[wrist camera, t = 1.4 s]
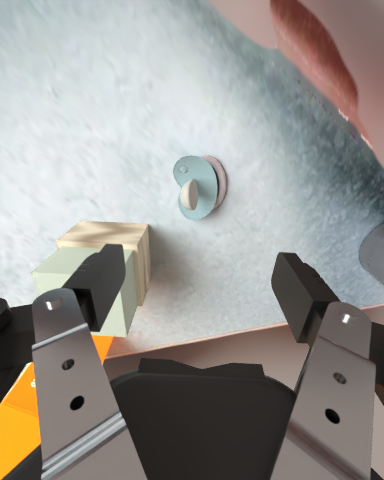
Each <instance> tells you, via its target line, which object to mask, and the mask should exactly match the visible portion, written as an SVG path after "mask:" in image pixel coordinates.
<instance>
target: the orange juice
mask: <svg viewBox="0 0 384 480" xmlns="http://www.w3.org/2000/svg"><path fill="white" fill-rule="evenodd" d="M113 337H114V336H98V335H92V338H93V340H94V343H95V346H96V348H97V351H98V354H99V356H100V359H101V362H102V364H103V362H104V359H105V357H106V354H107V352H108V349H109V347H110V344H111V342H112V339H113ZM40 443H41V440H40V429H39V419H38V408H37V398H36V387H35V376H34V366H33V362H31V363H29V364H28V365H27V367H26V368H25V370H24V371H23V372H22V374H21V375H20V377H19V378H18V380H17V381H16V383H15V384H14V386H13V387H12V388H11V390H10V391H9V392H8V394H7V395H6V396H5V398H4V399H3V401H2V402H1V404H0V480H1V479H2V478H3V477H4V476H5V475H6V474H7V473H9V472H10V471H11V470H12V469H13V468H14V467H15V466H16V465H17V464H18V463H20V462H21V461H22V460H23V459H24V458H25V457H26V456H27V455H28V454H29V453H30V452H32V451H33V450H34V449H35V448H36V447H37V446H38V445H39V444H40Z"/></svg>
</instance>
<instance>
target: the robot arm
mask: <svg viewBox="0 0 384 480" xmlns="http://www.w3.org/2000/svg"><path fill="white" fill-rule="evenodd" d="M359 259H360V263H361V264H362V266H363V267H364V268H365V269H366V270H367V271H368V272H369V273H370V274H371V275H373V276H374V277H375V278H376V279H377V280H378V281H380V282H381V283H382V284H383V285H384V223H383V224H381V225H379V226H378V227H377V228H375V229H374V230H373V231H372V232H371V233H370V234H369V235H368V236H367V238H366V239H365V240H364V242H363V244H362V246H361V249H360V254H359ZM125 275H126V268H125V259H124V251H123V246H122V244H108V243H107V244H105V245H104V247H103V248H102V249H101V251H100V252H99V253H97V252H95V253H93V254H92V255H90V256H88V257H87V258H86V259H85V260H84V261H83V262H82V263H81V265H80V266H79V267H78V268H77V270H76V271H75V272H74V273H73V274H72V275H71V276H70V278H69V279H68V280H67V281H66V282H65V283H64V285H63V286H62V287H61V288H57V289H53V290H50V291H47V292H45V293H43V294H41V295H40V296H39V297H37V298H36V299H35V300H34V302H33V304H30V305H24V306H18V307H12V308H9V306H8V303H7V301H6V300H5V299H2V298H0V403H1V402H2V400H3V399H4V397H5V396H6V394H7V393H8V391H9V389H10V388H11V387H12V385H13V383H14V382H15V381H16V379H17V377H18V376H19V374H20V373H21V371H22V370H23V368H24V367H25V365H26V364H27V363H31V362H33V366H34V376H35V387H36V398H37V408H38V419H39V429H40V440H41V443H40V444H39V445H38V446H37V447H36V448H35V449H34V450H33V451H32V452H30V453H29V454H28V455H27V456H26V457H25V458H24V459H23V460H22V461H21V462H20V463H18V464H17V465H16V466H15V467H14V468H13V469H12V470H11V471H10V472H9V473H7V474H6V475H5V476H4V477H3V478H2V479H1V480H383V479H382V478H381V477H380V476H379V475H378V474H377V473H376V472H375V471H374V470H373V469H372V468H371V451H372V432H373V413H374V412H373V411H374V393H375V392H376V394H377V396H378V397H379V399H380V401H381V402H382V404H383V405H384V325H381V324H378V323H374V322H371V320H370V319H369V317H368V316H367V315H366V314H365V313H364V312H363V311H362V310H360V309H359V308H357V307H355V306H353V305H351V304H348V303H344V302H341V301H340V300H339V299H338V297H337V296H336V295H335V294H334V292H333V291H332V290H331V289H330V288H329V286H328V285H327V284H326V283H325V281H324V280H323V279H322V278H320V275H319V274H318V273H317V272H316V270H315V269H314V268H312V267H311V266H309V265H308V264H306V263H303V262H302V261H301V259H300V258H299V257H298V256H297V254H296V253H285V252H280V253H278V255H277V258H276V262H275V266H274V270H273V274H272V279H271V284H272V289H273V291H274V293H275V296H276V298H277V300H278V302H279V304H280V307H281V309H282V311H283V313H284V315H285V318H286V320H287V322H288V324H289V326H290V328H291V331H292V333H293V335H294V337H295V339H296V341H297V343H308V344H309V346H310V348H309V351H308V353H307V356H306V359H305V361H304V364H303V367H302V370H301V372H300V375H299V378H298V381H297V383H296V386H295V388H294V391H293V390H291V389H290V388H289V387H287V386H286V385H284V384H282V383H281V382H279V381H277V380H276V379H273V378H271V377H269V376H266V375H264V372H263V367H262V365H261V364H244V363H229V364H225V365H220V366H215V367H210V368H206V369H199V368H195V367H192V366H189V365H186V364H182V363H179V362H176V361H173V360H164V359H145V358H142V359H141V361H140V365H139V369H135V370H131V371H128V372H125V373H123V374H121V375H119V376H117V377H116V378H114V379H112V380H111V381H110V382H109V380H108V378H107V375H106V373H105V370H104V367H103V364H102V362H101V359H100V356H99V354H98V351H97V348H96V346H95V343H94V340H93V338H92V335H91V332H100V331H101V328H102V326H103V324H104V322H105V320H106V318H107V316H108V314H109V312H110V310H111V308H112V305H113V303H114V301H115V299H116V297H117V295H118V293H119V291H120V289H121V287H122V285H123V282H124V280H125Z"/></svg>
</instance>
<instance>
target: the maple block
mask: <svg viewBox="0 0 384 480" xmlns="http://www.w3.org/2000/svg"><path fill="white" fill-rule="evenodd" d="M56 243H57V247H58V249H59V248H60V247H61V246H68V247H89V248H103V247H104V245H105V244H107V243H108V244H122V246H123V249H130V250H133V256H134V267H135V277H136V288H137V298H138V305H137V306H142V305H143V302H144V299H145V296H146V293H147V290H148V286H149V283H150V280H151V269H150V251H149V233H148V224H137V223H116V222H96V221H80V222H79V223H78V224H76V225H75V226H74V227H73V228H71V229H70V230H69V231H68V232H66V233H65V234H64V235H63V236H61V237H60V238H59V239H58V240H56Z"/></svg>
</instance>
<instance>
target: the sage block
mask: <svg viewBox="0 0 384 480" xmlns="http://www.w3.org/2000/svg"><path fill="white" fill-rule="evenodd" d="M101 249H102V248H89V247H68V246H61V247H60V248H59V249H58V250H56V251H55V252H54V253H53V254H52V255H51V256H50V257H48V258H47V259H46V260H45V261H44V262H43V263H42V264H40V265H39V266H38V267H37V268H36V269H35V270H34V271H32V272H31V273H32V276H33V279H34V281H35V284H36V287H37V290H38V293H39V295H41V294H43V293H45V292H47V291H50V290H53V289H57V288H61V287H62V286H63V285H64V283H65V282H66V281H67V280H68V279H69V278H70V276H71V275H72V274H73V273H74V272H75V271H76V270H77V268H78V267H79V266H80V265H81V263H82V262H83V261H84V260H85V259H86V258H87V257H88V256H90V255H92V254H93V253H95V252H97V253H99V252H100V251H101ZM123 251H124V259H125V268H126V275H125V280H124V282H123V285H122V287H121V289H120V291H119V293H118V295H117V297H116V299H115V301H114V303H113V305H112V308H111V310H110V312H109V314H108V316H107V318H106V320H105V322H104V324H103V326H102V328H101V331H100V332H91V335H98V336H118V337H127V335H128V332H129V329H130V326H131V323H132V320H133V317H134V314H135V311H136V308H137V305H138V298H137V288H136V277H135V267H134V256H133V250H130V249H123Z"/></svg>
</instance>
